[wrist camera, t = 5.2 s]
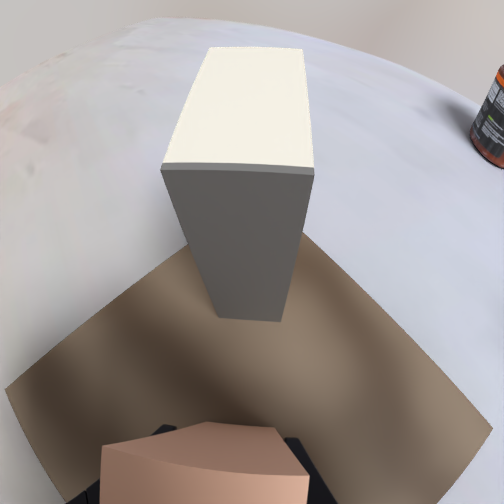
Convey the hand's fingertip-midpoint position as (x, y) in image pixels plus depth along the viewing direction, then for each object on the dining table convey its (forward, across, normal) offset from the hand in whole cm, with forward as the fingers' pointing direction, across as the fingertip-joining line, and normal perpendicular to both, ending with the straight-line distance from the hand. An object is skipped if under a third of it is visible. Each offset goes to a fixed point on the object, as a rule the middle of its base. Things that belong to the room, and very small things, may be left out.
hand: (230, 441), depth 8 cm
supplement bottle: (+21, -23, -11) cm, 33 cm away
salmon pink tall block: (+3, 0, +5) cm, 6 cm away
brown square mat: (+4, 0, +6) cm, 7 cm away
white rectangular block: (+10, 0, -2) cm, 10 cm away
